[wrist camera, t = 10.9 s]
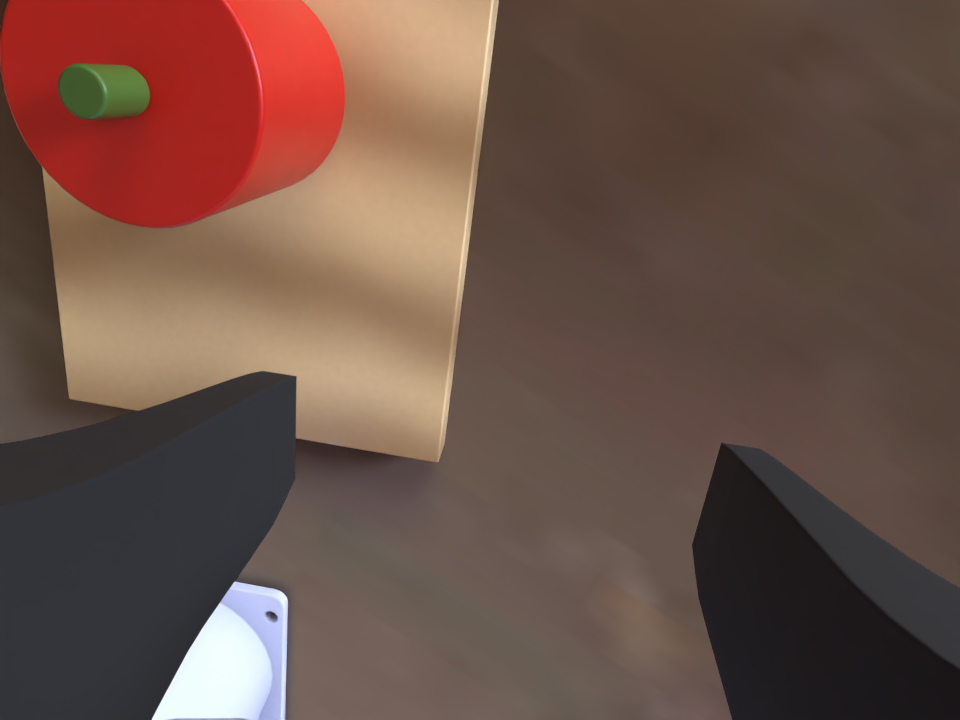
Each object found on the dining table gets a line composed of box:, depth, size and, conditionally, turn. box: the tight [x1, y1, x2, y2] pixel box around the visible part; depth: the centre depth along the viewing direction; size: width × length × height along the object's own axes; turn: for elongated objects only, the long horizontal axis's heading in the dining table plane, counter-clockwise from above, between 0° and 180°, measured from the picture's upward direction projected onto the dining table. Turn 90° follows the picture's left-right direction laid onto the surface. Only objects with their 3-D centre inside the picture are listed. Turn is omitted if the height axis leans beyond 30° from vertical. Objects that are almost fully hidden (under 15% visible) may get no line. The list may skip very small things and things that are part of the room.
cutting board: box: [42, 0, 499, 463], centre depth 18 cm, size 20×12×1 cm, turn 173°
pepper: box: [0, 0, 345, 228], centre depth 15 cm, size 5×5×7 cm
